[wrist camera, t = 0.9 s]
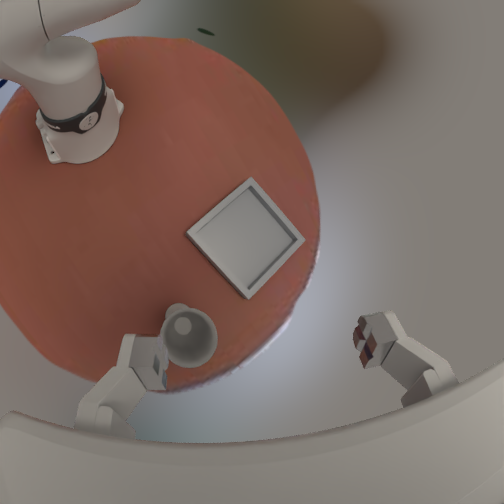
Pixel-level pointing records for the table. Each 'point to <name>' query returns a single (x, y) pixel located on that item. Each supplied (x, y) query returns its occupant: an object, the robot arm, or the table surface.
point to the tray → (246, 238)
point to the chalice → (188, 336)
